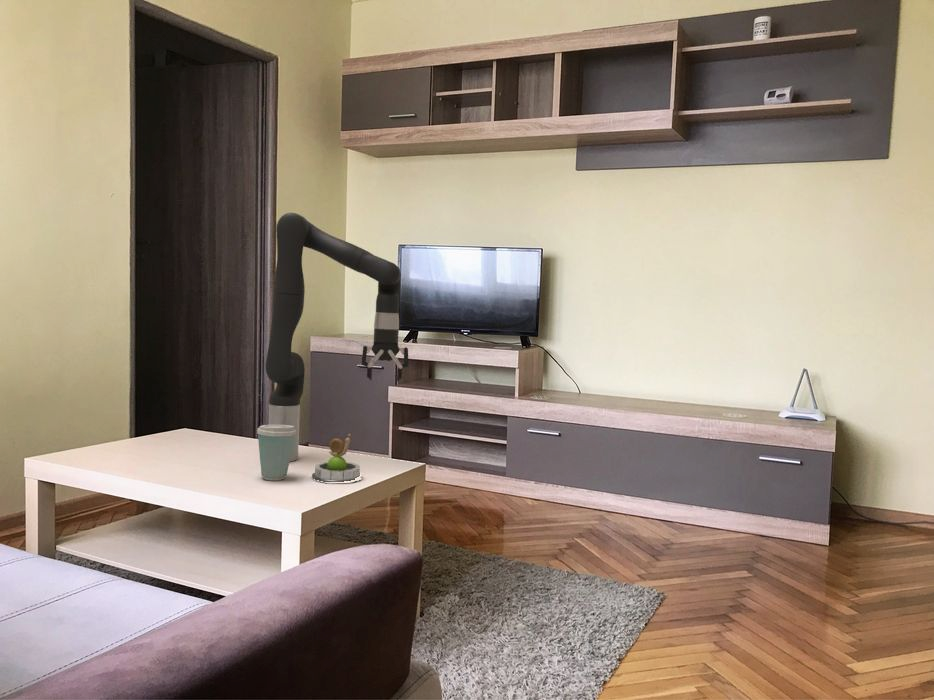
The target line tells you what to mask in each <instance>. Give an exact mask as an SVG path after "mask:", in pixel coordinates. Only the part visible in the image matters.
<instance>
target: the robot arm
mask: <svg viewBox="0 0 934 700" xmlns="http://www.w3.org/2000/svg"><path fill="white" fill-rule="evenodd" d="M275 232H276V250H277V251H276V254H277V255H276V257H277V258H276V267H275V274H274V283H273V290H272V291H273V293H272V294H273V295H272V310H271V311H272V313H271V323H270V334H269V335H270V336H269V341H268V348H267V354H266V359H265V373H266V376H267V378H268V379H269V380H270V381H271V382H272V383H275V384H276V387H275V389H274V390H273V392H272V393H271V394H270V395H269V398H268V399H269V400H268V425H290V426H294V427H295V430H296V434H295V438H294V443H293V447H292V452H291V457H290V461H291V462H296V461H298V460H299V445H300V443H299V442H300V415H301V414H300V413H301V411H300V410H301V399H302V397H303V393H304V385H305V371H306V370H305V369H306V368H305V367H306V366H305V362H304V360H303V358H302V356H301V355H300V354H299V353H297V352H294V351H292V345H293V337H294V333H295V332H296V330H297V327H298V325H299V322H300V320H301V318H302V315H303V311H304V306H305V305H304V304H305V277H304V272H303V252H304V248H307V249H312V250H313V251H315V252H318V253H320V254H322V255H325V256H326V257H328V258H330V259H332V260H333V261H335V262H336V263H339V264H340V265H343V266H344V267H347V268H349V269H350V270H353V271H355V272H357V273H359V274H362V275H366V276H367V277H369V278H371V279H373V280H374V281H376V282H377V295H376V300H375V315H374V320H373V321H374V323H373V342H372V343H373V344H372V345H371V346H368V345H363V347H362V356H361V365H362V366H365V367H366V378H367V379H368V380H370V381H372V380H373V379H372V377H373V375H372V374H373V367H372V366H374V364H375V363H376V362H377V361H383V362H384V361H388V362H391V361H393V362H394V363H395V365H396V366H397V369H396V381H397V382H400V380H402V378H403V369H405V368H408V367H409V348H408V347H407V346H405V347H399V333H400V331H399V330H400V318H399V317H400V316H399V312H400V311H399V310H400V297H399V296H400V287H401V280H402V278H401V275H402V274H401V269H400V267H399V266H398V265H397V264H396V263H394V262H392V261H389V260H387V259H384V258H382V257H379V256H378V255H374V254H373V253H371V252H370V251H368V250H365V249H364V248H362V247H360V246H357V245H356V244H353V243H351V242H348V241H346V240H343V239H340V238H338V237H335V236H333V235H332V234H329V233H327V232H325V231H323V230H322V229H320V228H318V227H317V226H315V225H314V224H312V223H311V222H310V221H308V220H307V219H306V218H305V217H304V216H302V215H301V214H299V213H295V212H287V213H285V214H282V216H280V218H279V219H278V221H277V223H276V230H275ZM370 352H372V353H373V354H374V355H373V357H371V359H370V360H369V362H368V361H367V354H369V353H370ZM399 352H400V353H401V355H403V363H401V362H400V361H399V359H398V358H397V355H398V353H399ZM297 459H298V460H297ZM295 460H296V461H295Z"/></svg>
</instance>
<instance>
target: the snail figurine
mask: <svg viewBox="0 0 934 700" xmlns="http://www.w3.org/2000/svg"><path fill="white" fill-rule="evenodd" d="M347 436H348V437H346V438H345V439H344V441H342V440H341V439H340V438H337V437H336V438H333V439H332V440H330V442H329V444H328V445H329V449H330V450H329V452H328V453H329V454H330V455H331V457H330V458H329V459H328V461H327V462H328V463H327V468H328V470H339V471H343V470H346V467H347V464H346V462H347V460H346V459H345V458H344V457H343V456H345V455H346V454H347V452H348V450H349V447H350V442H351V436H352V435H351V433H349V434H347ZM344 442H345V443H344Z"/></svg>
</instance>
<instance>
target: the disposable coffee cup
mask: <svg viewBox="0 0 934 700" xmlns="http://www.w3.org/2000/svg"><path fill="white" fill-rule="evenodd" d="M256 433H257V439H258V441H257V442H258V451H259V462H260V463H259V464H260V474H261V477H262V479H263V480H266V481H282V479H283V480H285V479H286V477H287V476H288V471H289V467H290V457H291V452H292V447H293V443H294V438H295V434H296V430H295V427H294V426H290V425H269V424H262V425H260V426H259V427H258V428H256ZM284 478H285V479H284Z"/></svg>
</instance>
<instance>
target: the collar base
mask: <svg viewBox="0 0 934 700" xmlns="http://www.w3.org/2000/svg"><path fill="white" fill-rule="evenodd" d="M327 463H328V461H324V462H320V463H316V464H315V465H314V472H313V473H312V474H311V478H313V479H315V480H319V481H323V482H344V481H351V480H355V478H357V477H359V476H360V472H361V466H360V464H357V463H355V462H348V461H346V464H347V467H346V470H343V471H339V470H328V468H327ZM313 479H312V480H313Z"/></svg>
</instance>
